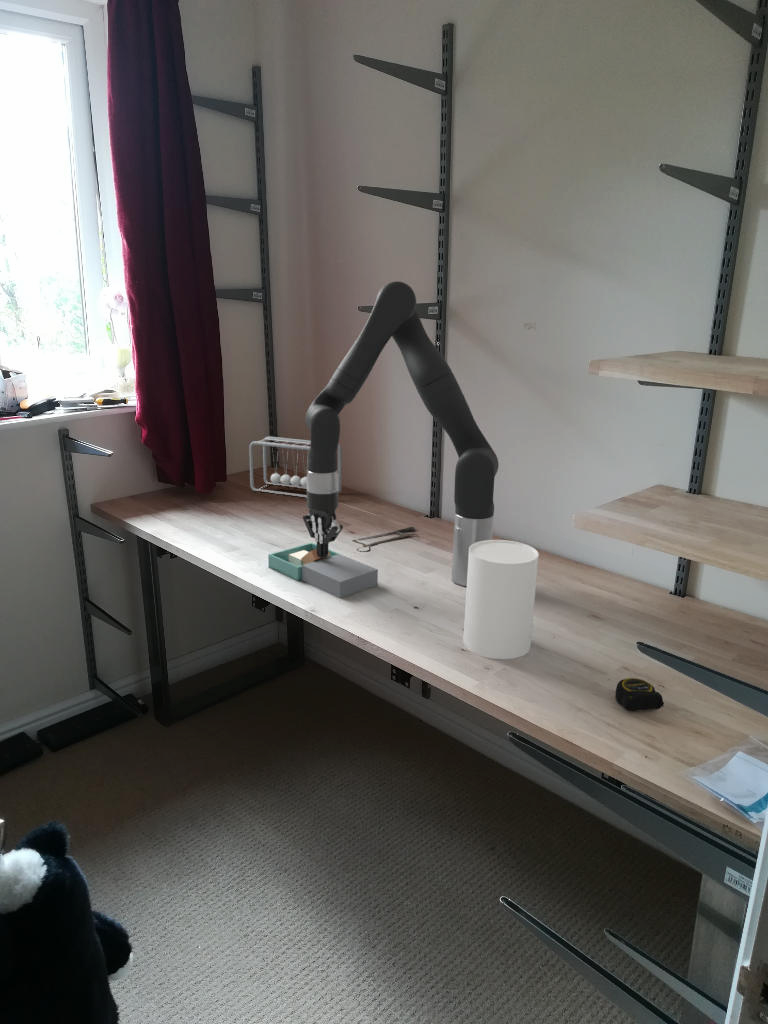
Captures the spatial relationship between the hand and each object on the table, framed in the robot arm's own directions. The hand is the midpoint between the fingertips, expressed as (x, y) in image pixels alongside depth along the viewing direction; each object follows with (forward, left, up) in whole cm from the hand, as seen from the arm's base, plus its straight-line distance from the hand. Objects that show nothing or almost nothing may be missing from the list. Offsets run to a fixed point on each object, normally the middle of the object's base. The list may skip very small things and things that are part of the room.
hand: (322, 556), depth 183 cm
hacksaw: (-4, -32, -6) cm, 33 cm away
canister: (-49, +16, -5) cm, 52 cm away
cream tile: (+7, -3, -2) cm, 8 cm away
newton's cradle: (+44, -63, -5) cm, 77 cm away
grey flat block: (-6, +2, -5) cm, 8 cm away
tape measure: (-78, +29, -5) cm, 83 cm away
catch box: (+6, -3, -5) cm, 9 cm away
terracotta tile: (+2, -1, -2) cm, 3 cm away
